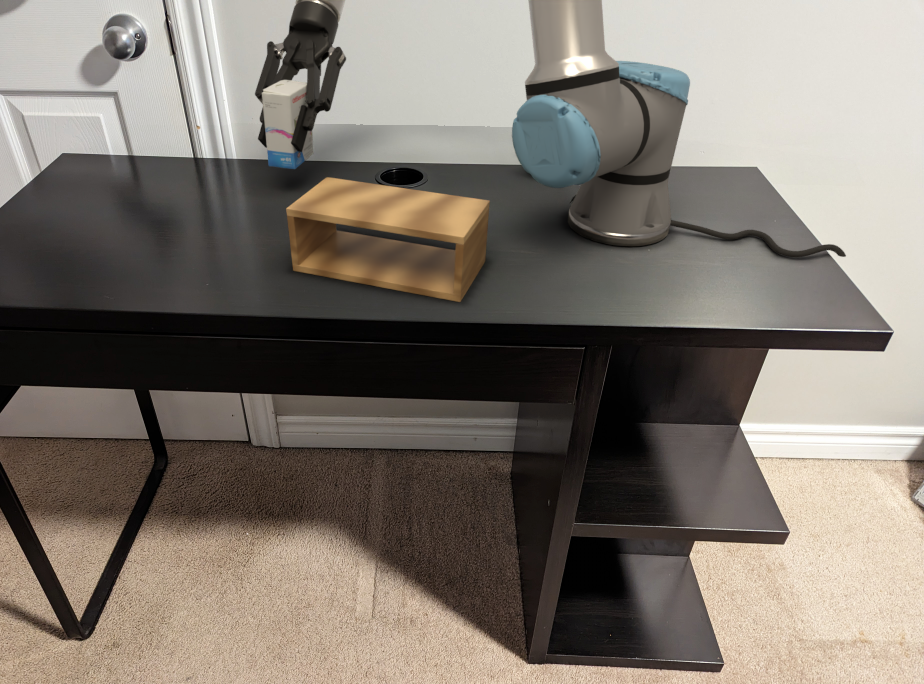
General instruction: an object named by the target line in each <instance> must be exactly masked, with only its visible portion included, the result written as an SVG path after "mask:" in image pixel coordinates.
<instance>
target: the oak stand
mask: <svg viewBox="0 0 924 684" xmlns="http://www.w3.org/2000/svg"><path fill="white" fill-rule="evenodd" d="M490 203H491V200H487V199H481V198H473V197H467V196H461V195H460V196H459V195H452V194H446V193H439V192H433V191H425V190H419V189H413V188H403V187H397V186H390V185H385V184H377V183H370V182H365V181H364V182H363V181H357V180H350V179H344V178H343V179H342V178H335V177H330V176H329V177H328V176H326V177H324V178H323V179H322V180H321V181H320V182H318V184H316V185H314V186H313V187H312V188H311V189H309V190H308V191H307V192H306V193H304V194H303V195H302V196H301V197H299V198H298V199H297V200H295V201H294V202H293V203H291V204H290V205H289V206H288V207H286V208H285V210H286V219H287V228H288V235H289V236H288V237H289V238H288V239H289V245H290V255H291V263H292V264H291V265H292V271H294V272H298V273H304V274H308V275H315V276H319V277H324V278H330V279H334V280H335V279H336V280H341V281H346V282H351V283H357V284H362V285H367V286H371V287H377V288H382V289H389V290H393V291H399V292H404V293H410V294H413V295H419V296H420V295H421V296H425V297H431V298H435V299H441V300H447V301H453V302H456V303H461V302H462V300H463V299H464V297H465V295H466V294H467V292H468V290H469V289H470V287H471V286H472V284H473V282H474V281H475V279H476V277H477V276H478V274H479V273H480V271H481V269H482V268H483V266H484V264H485V263H486V258H487V257H486V256H487V255H486V254H487V244H488V243H487V242H488V230H489V219H490V205H491V204H490ZM337 224H338V225H342V226H347V227H348V226H349V227H354V228H360V229H367V230H373V231H377V232H378V231H379V232H385V233H391V234H398V235H401V236H402V235H403V236H409V237H413V238H414V237H415V238H421V239H426V240H434V241H440V242H445V243H452V244H455V249H449V248H444V247H437V246H432V245H427V244H420V243H414V242H409V241H403V240H395V239H390V238H383V237H379V236H372V235H365V234H361V233H354V232H350V231H349V232H348V231H343V230H337Z"/></svg>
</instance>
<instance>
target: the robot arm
mask: <svg viewBox="0 0 924 684" xmlns="http://www.w3.org/2000/svg"><path fill="white" fill-rule="evenodd" d="M345 3H346V0H295V5H294V7H293V10H292V13H291V17H290V21H289V24H288V34H287V36H286V37H285V38H284V39H283V41H282V42H279V43H274V41H272V40H271V41H268V42H267V43H266V57H265V60H264V63H263V66H262V69H261V71H260V76H259V79H258V82H257V85H256V88H255V92H254V96H255V97H256V98H257V100H258V101H259V102H260V104H261V105H263V100H262V92H264V91H263V89H265V88H267V87H269V86H271V85H273V84H275V83H277V82H279V81H281V80H291V81H293V79H294V77H295V76H297V75H298V74H299V73H300V71H301V70H307V71H306V83H307V102H306V100H305V102H306V103H307V105H308V107H306V106H305V105H301V109H300V113H299V116H298V120H297V123H296V127H295V130H294V134H293V137H292V141H291V144H292V145H293V146H294V147H295V149H296V150H297V151H298V152H302V150H303V147H304V143H305V139H306V136H307V132H308V131H312V132H313V129H314V127H315V124H316V119H317V117H318V114H319V113H320V112H323V111H324V112H326V113H327V112H329V111H331V109H332V104H333V100H334V96H335V94H336V93H335V92H336V89H337V85H338V80H339V76H340V73H341V69H342V68H343V67H344V65H345V63H346V62H347V57H346V55H345V53H344V51H343V50H342V48H341V46H336V47H334V45H333V44H334V42H335V40H336V36H337V32H338V29H339V22H340V21H341V16H342V13H343V10H344V6H345ZM528 9H529V10H528V11H529V19H530V29H531V38H532V49H533V58H534V66H533V69H532V71H531V72H530V74H529V75H528V76H527V78H526V79H525V81H524V88H525V98H526V101H525V102H524V103H523V104H522V105H520V107H519V108H518V110H517V111H516V117H515V118H514V119H513V121H512V127H511V139H512V140H511V141H512V145H513V149H514V153H515V156H516V158H517V160H518V162H519V164H520V166H521V167H522V169H523V170H524V171H525V173H526V174H529V175H531V178H532V179H533V180H534V181H535V182H537V183H539V184H540V185H542V186H545V187H547V188H552V189H562V188H568V187H571V186H579V185H580V186H579V188H578V190H577V191H576V194H575V195H574V196H573V197H572V198H571V199H570V202H569V204H570V206H569V209H568V214H567V215H568V216H567V223H568V226H569V227H570V229H571V230H572V231H574V232H575V233H577V234H578V235H579V236H582V237H583V238H586V239H588V240H591V241H593V242H598V243H601V244H606V245H611V246H612V245H613V246H617V247H618V246H619V247H640V246H647V245H652V244H655V243H658V242H660V241H663V240H664V239H665V238H666V237H667V236H668V234H669V231H670V227H674V228H679V229H682V230H683V229H684V230H687V231H693V232H697V233H700V234H705V235H708V236H711V237H714V238H718V239H722V240H738V239H741V238H744V237H747V236H750V237H751V236H752V237H756V238H759V239H762V240H763V241H764V242H765V243H766V244H767V245H768V247H769V248H770V249H771V250H772V251H773V252H775V253H776V254H778V255H781V256H784V257H789V258H803V257H808V256H812V255H815V254H818V253H822V252H825V251H826V252H827V251H831V252H833V253H834V254H836V255H837V257H841V258H846V257H847V255H846V253H845V251H844V250H843V249H842V248H841V247H840V246H838V245H836V244H831V243H828V244H821V245H818V246H817V245H816V246H814V247H811V248H807V249H802V250H788V249H786V248H783V247H781V246H779V244H777V243H776V242H775V241H774V239H773V238H772V237H771V236H770V235H769V234H767V233H766V232H763V231H761V230H756V229H743V230H742V231H738V232H735V233H734V232H733V233H727V232H721V231H717V230H714V229H712V228H711V229H710V228H707V227H704V226H699V225H697V224H696V225H695V224H692V223H687V222H683V221H678V220H674V219H672V213H671V203H670V201H671V200H670V192H669V178H670V174H671V169H672V166H673V161H674V157H675V153H676V148H677V145H678V141H679V137H680V133H681V128H682V124H683V119H684V116H685V112H686V108H687V106H688V104H689V99H688V97H689V92H690V87H691V80H690V77H689V75H688V74H687V73H686V72H685V71H682V70H680V69H676V68H673V67H669V66H665V65H659V64H652V63H648V62H647V63H645V62H638V61H630V60H629V61H628V60H615V59H614V58H613V57H612V56H611V55H610V54H609V53H608V52H607V51H606V43H605V29H604V26H605V25H604V14H603V0H528ZM283 55H284V56H283ZM326 60H327V62H326V68H325V71H324V75H323V78H322V83H321V76H322V64H323V63H324V62H325V61H326ZM280 65H281V66H280ZM259 122H260V125H261V126H260V130H259V132H258V136H257V140H258V141H259V142H260V143H261V145H262V146H263V147H264V148H266V149H267V143H266V132H265V122H264V111H263V107H262V108H261V111H260V115H259Z"/></svg>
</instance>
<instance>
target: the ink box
mask: <svg viewBox="0 0 924 684" xmlns="http://www.w3.org/2000/svg"><path fill="white" fill-rule="evenodd" d="M263 91H264V92H262V100H263V104H262V108H263V111H264V122H265V132H266V143H267V148H266V152H267V153H266V154H267V163H268V167H269V168H278V169H279V168H281V169H289V170H296V169H297V168H298V167H300V166H301V165H302V164H303V163H305V161H307V160H308V159H309V158H311V157H312V155H314V139H313V130H312V131H308V132H307V136H306V139H305V143H304V147H303V150H302V152H298V151H297V150H296V149H295V147H294V146H293V145H292V144H291V141H292V137H293V134H294V130H295V127H296V123H297V120H298V116H299V113H300V109H301V105H305V106H306V107H308V105H307V103H306V102H307V82H305V81H297V80H281V81H279V82H277V83H275V84H273V85H271V86H269V87H267V88H265V89H263ZM305 100H306V102H305Z"/></svg>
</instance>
